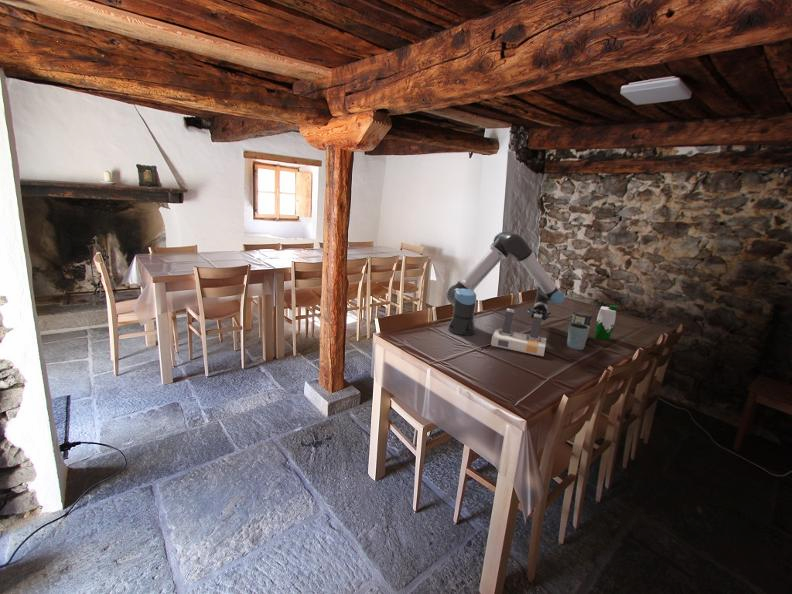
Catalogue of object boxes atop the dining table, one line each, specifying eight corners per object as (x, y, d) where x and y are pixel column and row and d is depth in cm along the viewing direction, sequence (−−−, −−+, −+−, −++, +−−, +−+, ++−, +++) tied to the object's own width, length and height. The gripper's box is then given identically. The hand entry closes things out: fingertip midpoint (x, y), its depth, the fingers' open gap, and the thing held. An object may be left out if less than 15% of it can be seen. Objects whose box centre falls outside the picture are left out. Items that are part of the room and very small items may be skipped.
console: (490, 345, 200) (492, 332, 198) (495, 337, 213) (497, 324, 211) (543, 356, 191) (545, 342, 189) (544, 347, 203) (547, 334, 201)
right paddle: (530, 336, 198) (534, 312, 201) (529, 337, 200) (534, 314, 203) (538, 337, 197) (542, 314, 199) (538, 338, 199) (542, 315, 201)
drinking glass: (575, 351, 201) (580, 329, 198) (560, 343, 210) (564, 323, 207) (589, 349, 205) (594, 328, 202) (574, 342, 214) (578, 321, 211)
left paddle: (502, 330, 203) (506, 307, 205) (502, 331, 205) (507, 308, 207) (510, 332, 202) (514, 309, 204) (510, 333, 204) (514, 310, 206)
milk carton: (610, 341, 219) (617, 308, 214) (592, 338, 223) (599, 305, 218) (610, 337, 226) (618, 305, 221) (593, 334, 230) (600, 302, 225)
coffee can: (584, 334, 229) (589, 311, 225) (589, 340, 219) (594, 316, 215) (566, 331, 231) (571, 309, 227) (570, 337, 221) (575, 314, 217)
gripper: (550, 317, 226) (549, 329, 205) (527, 313, 231) (523, 324, 210) (552, 305, 224) (551, 316, 203) (529, 301, 229) (525, 311, 208)
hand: (537, 320), depth 206 cm, fingers closed
